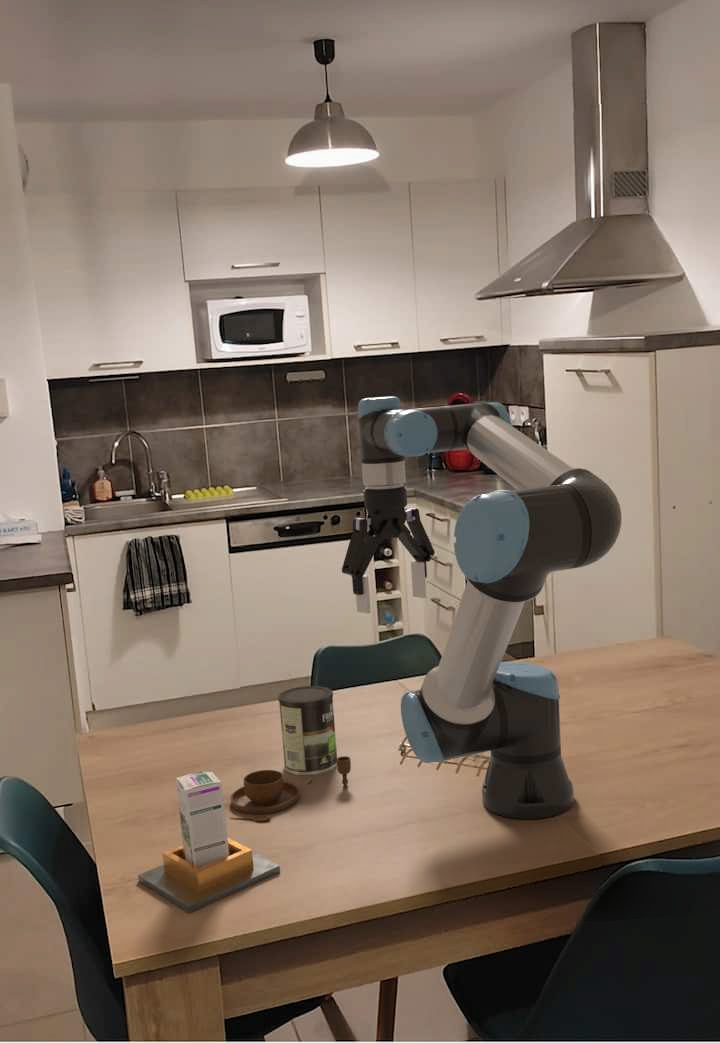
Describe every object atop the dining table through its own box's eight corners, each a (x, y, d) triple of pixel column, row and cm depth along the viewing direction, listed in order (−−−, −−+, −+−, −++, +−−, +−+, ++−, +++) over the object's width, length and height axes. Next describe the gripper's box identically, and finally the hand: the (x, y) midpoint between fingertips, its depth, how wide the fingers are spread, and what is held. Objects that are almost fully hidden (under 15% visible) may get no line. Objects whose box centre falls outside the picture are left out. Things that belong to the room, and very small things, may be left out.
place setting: (251, 782, 197) (249, 751, 196) (356, 786, 191) (353, 754, 190) (215, 822, 180) (212, 789, 179) (328, 828, 175) (325, 794, 174)
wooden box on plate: (280, 871, 160) (278, 846, 159) (189, 913, 149) (186, 886, 149) (227, 844, 170) (225, 820, 169) (138, 881, 160) (136, 856, 159)
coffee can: (343, 755, 205) (338, 685, 203) (331, 776, 195) (325, 702, 193) (291, 755, 207) (286, 685, 205) (277, 775, 198) (271, 702, 195)
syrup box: (232, 873, 158) (223, 780, 156) (193, 883, 156) (184, 789, 154) (221, 858, 163) (212, 768, 161) (183, 867, 161) (174, 776, 159)
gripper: (420, 476, 197) (427, 588, 200) (315, 494, 181) (324, 615, 184) (449, 478, 191) (456, 593, 194) (344, 496, 175) (353, 621, 178)
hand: (392, 604), depth 189 cm, fingers open, 13 cm apart
